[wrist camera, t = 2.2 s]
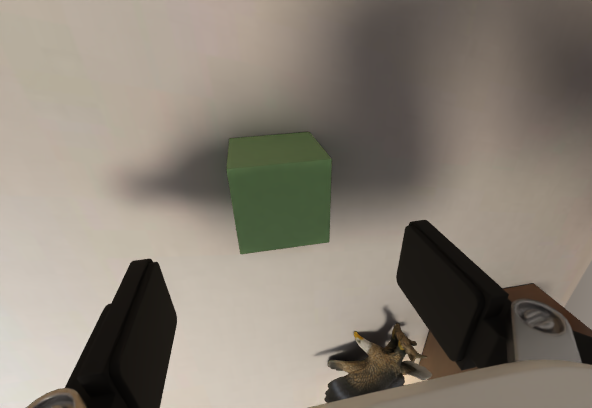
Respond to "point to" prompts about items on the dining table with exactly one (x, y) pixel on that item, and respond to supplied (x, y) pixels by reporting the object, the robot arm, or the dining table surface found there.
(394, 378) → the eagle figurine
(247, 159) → the green toy block
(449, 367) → the walnut stand
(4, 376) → the dining table surface
